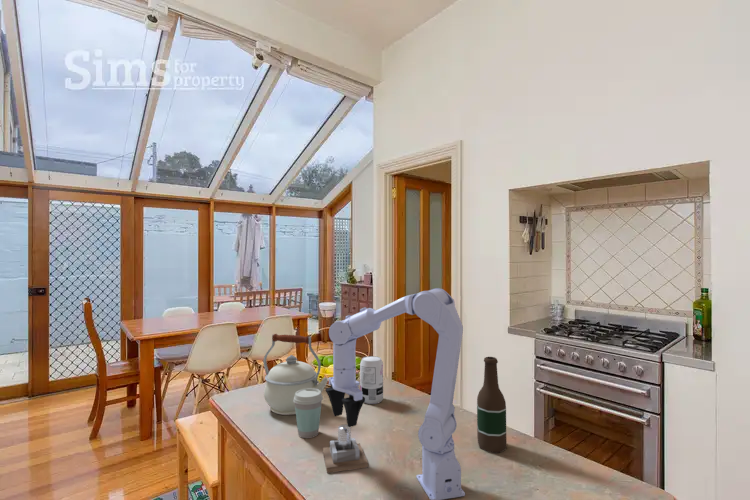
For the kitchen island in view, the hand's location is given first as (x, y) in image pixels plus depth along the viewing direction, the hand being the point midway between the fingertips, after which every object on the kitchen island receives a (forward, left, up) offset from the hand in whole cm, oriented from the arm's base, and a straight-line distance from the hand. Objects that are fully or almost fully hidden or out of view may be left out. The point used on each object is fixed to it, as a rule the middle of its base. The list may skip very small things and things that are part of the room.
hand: (344, 420), depth 99 cm
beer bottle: (-3, -40, -10) cm, 41 cm away
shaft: (0, 0, -9) cm, 9 cm away
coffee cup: (+17, +8, -10) cm, 21 cm away
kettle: (+38, +11, -10) cm, 41 cm away
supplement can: (+38, -16, -10) cm, 42 cm away
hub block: (0, 0, -10) cm, 10 cm away
